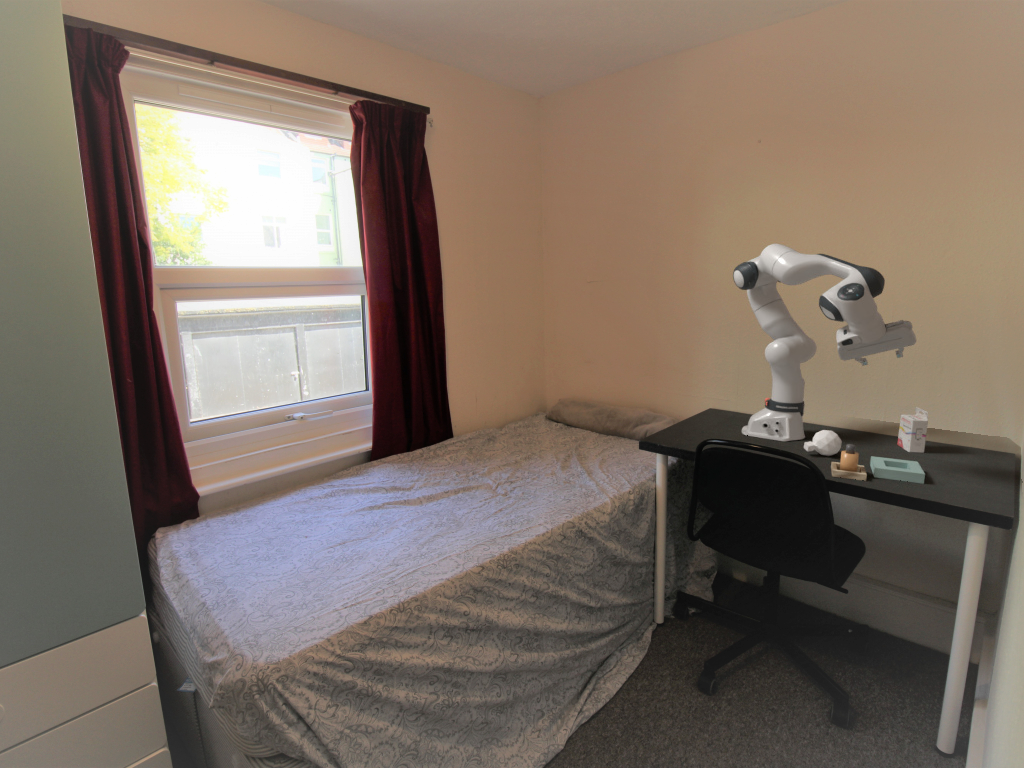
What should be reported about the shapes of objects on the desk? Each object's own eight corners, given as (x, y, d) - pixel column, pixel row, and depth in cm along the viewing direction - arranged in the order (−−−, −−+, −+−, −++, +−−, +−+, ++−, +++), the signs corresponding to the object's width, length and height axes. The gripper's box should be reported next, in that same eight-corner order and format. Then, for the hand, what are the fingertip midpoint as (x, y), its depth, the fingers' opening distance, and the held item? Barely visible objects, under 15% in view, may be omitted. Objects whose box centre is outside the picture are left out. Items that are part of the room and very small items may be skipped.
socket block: (874, 477, 160) (875, 467, 160) (870, 464, 171) (871, 456, 170) (923, 483, 155) (925, 474, 154) (916, 470, 165) (917, 461, 164)
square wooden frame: (832, 476, 162) (832, 470, 161) (830, 467, 169) (831, 461, 169) (866, 481, 157) (866, 474, 157) (863, 471, 165) (863, 465, 165)
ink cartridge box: (896, 445, 190) (900, 405, 188) (911, 445, 189) (916, 406, 187) (908, 452, 182) (913, 411, 179) (924, 453, 181) (930, 412, 178)
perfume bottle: (828, 444, 187) (796, 449, 187) (833, 423, 183) (800, 428, 182) (845, 458, 180) (811, 464, 179) (850, 437, 175) (816, 442, 175)
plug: (839, 475, 162) (842, 446, 161) (838, 470, 166) (841, 442, 165) (857, 477, 160) (860, 448, 158) (855, 472, 164) (859, 444, 162)
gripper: (908, 311, 155) (921, 344, 160) (831, 332, 168) (846, 361, 174) (910, 325, 151) (924, 358, 156) (831, 345, 164) (846, 374, 170)
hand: (882, 360), depth 165 cm, fingers open, 8 cm apart
